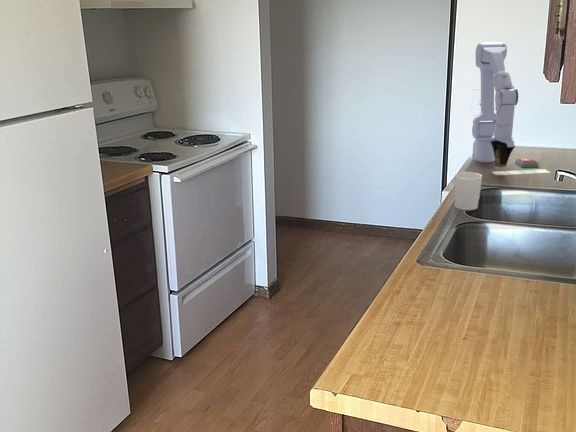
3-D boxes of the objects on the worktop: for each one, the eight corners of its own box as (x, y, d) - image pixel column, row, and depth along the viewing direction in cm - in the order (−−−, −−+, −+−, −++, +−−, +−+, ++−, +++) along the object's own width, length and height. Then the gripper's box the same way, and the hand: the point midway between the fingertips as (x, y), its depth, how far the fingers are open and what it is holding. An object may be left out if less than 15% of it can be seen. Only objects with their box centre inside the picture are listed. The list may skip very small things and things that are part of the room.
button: (518, 164, 229) (518, 158, 228) (529, 164, 229) (530, 157, 229) (523, 167, 225) (523, 161, 224) (535, 167, 225) (535, 160, 224)
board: (487, 172, 223) (487, 169, 223) (541, 169, 224) (542, 167, 224) (498, 180, 213) (498, 177, 213) (554, 177, 214) (555, 174, 214)
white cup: (477, 202, 191) (479, 171, 188) (482, 211, 184) (484, 178, 181) (451, 202, 192) (452, 171, 189) (455, 211, 185) (457, 179, 181)
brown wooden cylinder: (492, 164, 219) (494, 149, 217) (503, 163, 219) (505, 148, 217) (497, 167, 215) (498, 151, 213) (508, 166, 215) (509, 151, 214)
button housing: (515, 165, 230) (515, 159, 229) (530, 165, 230) (531, 158, 230) (521, 170, 224) (522, 163, 224) (537, 169, 225) (538, 162, 224)
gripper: (485, 120, 219) (482, 157, 223) (500, 129, 205) (497, 168, 210) (504, 119, 219) (501, 156, 224) (521, 128, 206) (517, 167, 210)
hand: (500, 162), depth 217 cm, fingers closed on brown wooden cylinder, 4 cm apart
